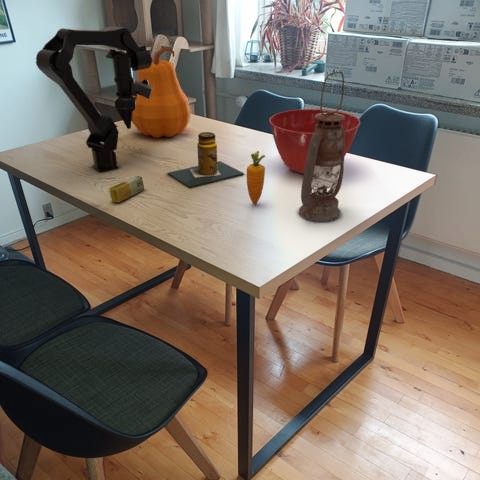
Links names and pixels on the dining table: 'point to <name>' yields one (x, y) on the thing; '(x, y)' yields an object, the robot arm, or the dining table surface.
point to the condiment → (206, 156)
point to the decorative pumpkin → (161, 101)
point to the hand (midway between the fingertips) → (129, 124)
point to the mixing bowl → (303, 134)
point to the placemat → (191, 181)
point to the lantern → (324, 166)
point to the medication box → (126, 189)
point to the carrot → (255, 178)
